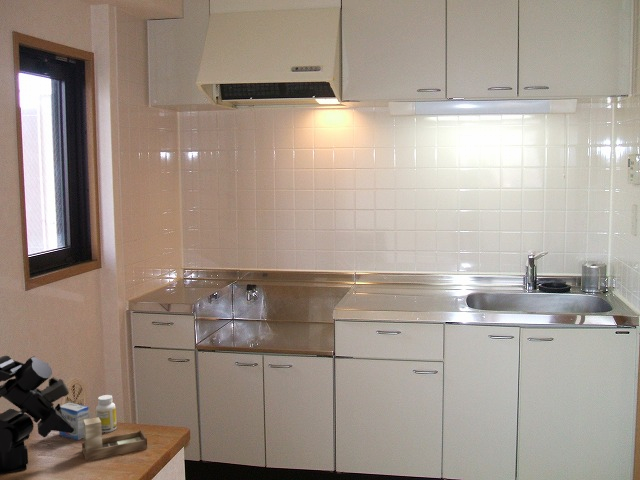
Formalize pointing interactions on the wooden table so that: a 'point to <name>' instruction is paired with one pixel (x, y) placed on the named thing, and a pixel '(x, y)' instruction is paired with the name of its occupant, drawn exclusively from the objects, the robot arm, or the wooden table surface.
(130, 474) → the wooden table surface
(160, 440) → the wooden table surface
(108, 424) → the supplement bottle
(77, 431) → the medicine box
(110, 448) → the box
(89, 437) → the cream block
